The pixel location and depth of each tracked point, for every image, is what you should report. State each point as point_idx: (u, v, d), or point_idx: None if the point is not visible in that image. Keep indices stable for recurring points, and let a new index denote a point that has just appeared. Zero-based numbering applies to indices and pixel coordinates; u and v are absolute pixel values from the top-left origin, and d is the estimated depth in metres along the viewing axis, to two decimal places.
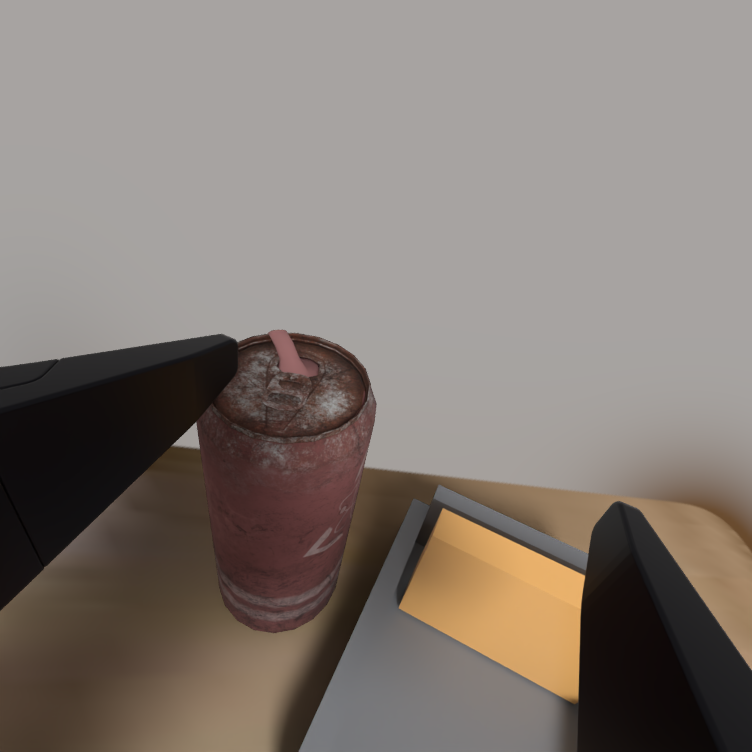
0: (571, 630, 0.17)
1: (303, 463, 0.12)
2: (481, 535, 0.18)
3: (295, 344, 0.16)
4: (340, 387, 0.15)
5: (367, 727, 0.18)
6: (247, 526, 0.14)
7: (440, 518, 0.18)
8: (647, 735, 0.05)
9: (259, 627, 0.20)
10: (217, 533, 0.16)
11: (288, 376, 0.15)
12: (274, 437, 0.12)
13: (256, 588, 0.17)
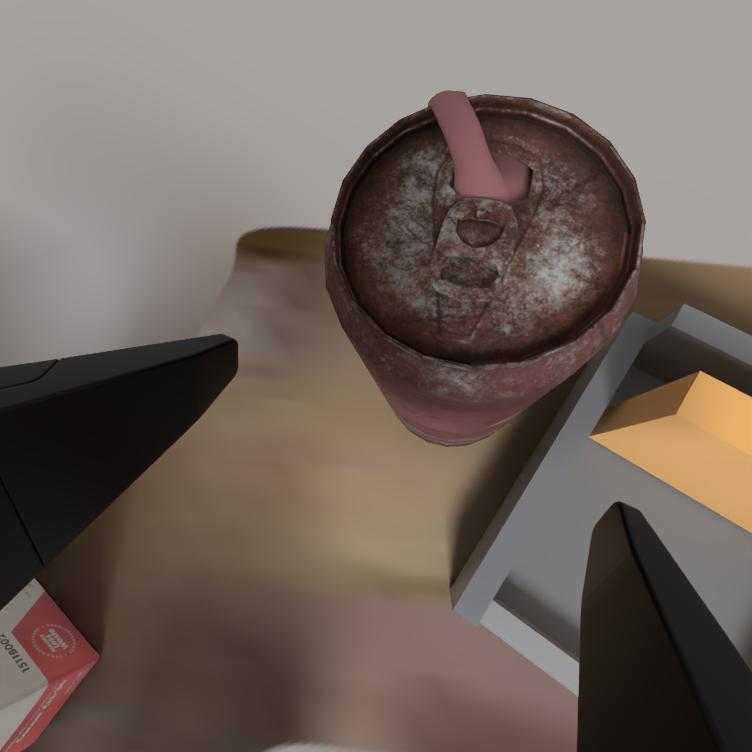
0: None
1: (502, 393, 0.07)
2: None
3: (481, 122, 0.08)
4: (575, 227, 0.08)
5: (542, 542, 0.18)
6: (417, 412, 0.11)
7: (693, 387, 0.12)
8: (647, 735, 0.05)
9: (432, 442, 0.19)
10: (380, 389, 0.14)
11: (471, 207, 0.08)
12: (456, 364, 0.07)
13: (428, 433, 0.16)
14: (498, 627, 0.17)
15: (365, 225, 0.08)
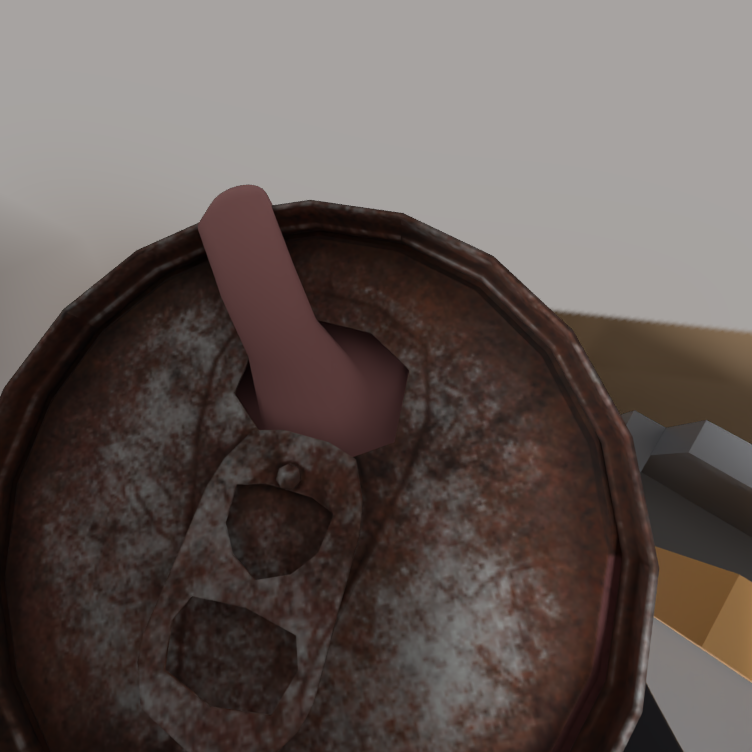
0: None
1: None
2: None
3: (313, 252, 0.04)
4: (492, 528, 0.03)
5: None
6: None
7: (729, 603, 0.08)
8: None
9: None
10: None
11: (274, 453, 0.04)
12: None
13: None
14: None
15: (57, 479, 0.04)
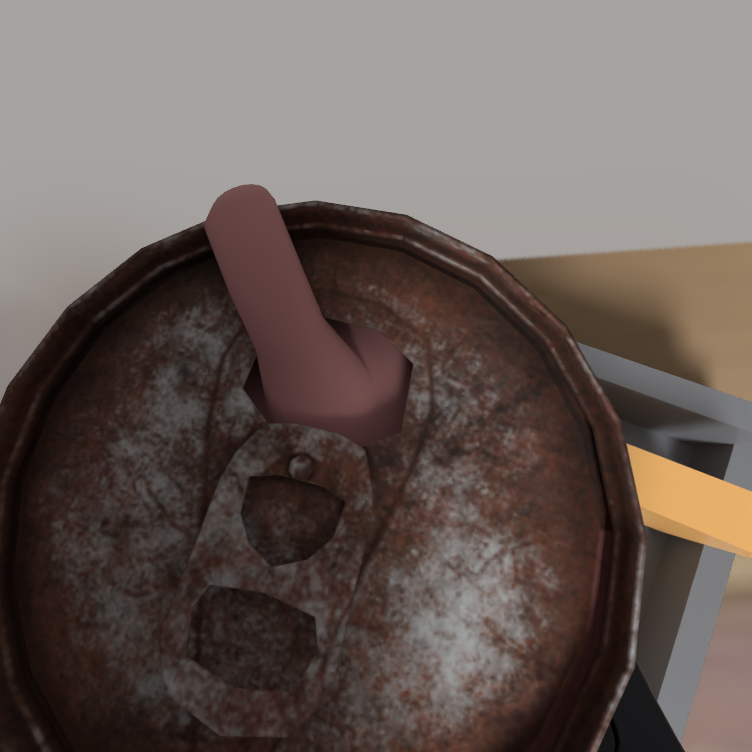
0: (659, 519, 0.13)
1: None
2: None
3: (316, 251, 0.04)
4: (494, 510, 0.03)
5: None
6: None
7: None
8: None
9: None
10: None
11: (284, 445, 0.04)
12: None
13: None
14: None
15: (65, 477, 0.04)
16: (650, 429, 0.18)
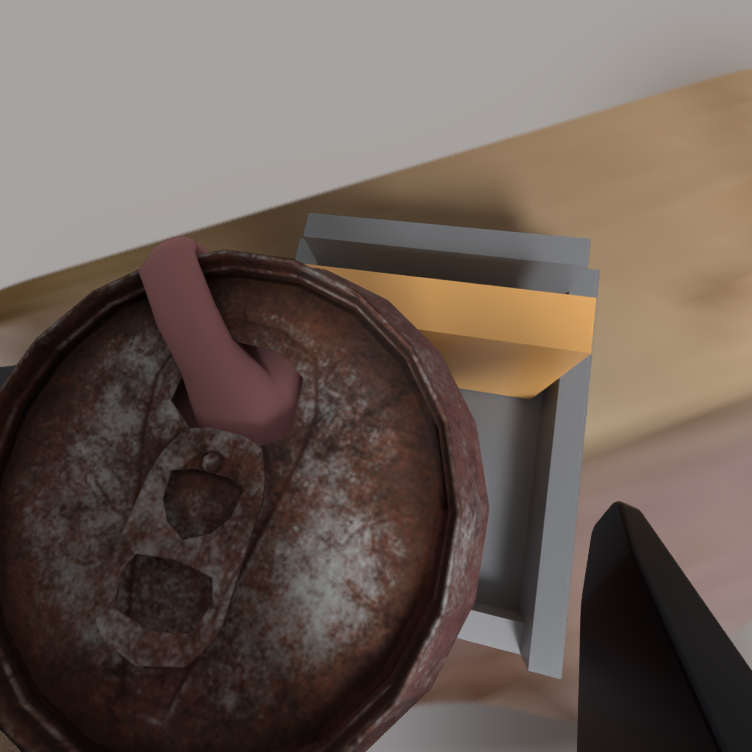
0: (480, 355, 0.13)
1: None
2: None
3: (232, 288, 0.05)
4: (359, 494, 0.04)
5: None
6: None
7: None
8: (647, 735, 0.05)
9: None
10: None
11: (201, 445, 0.05)
12: None
13: None
14: None
15: (33, 472, 0.05)
16: None
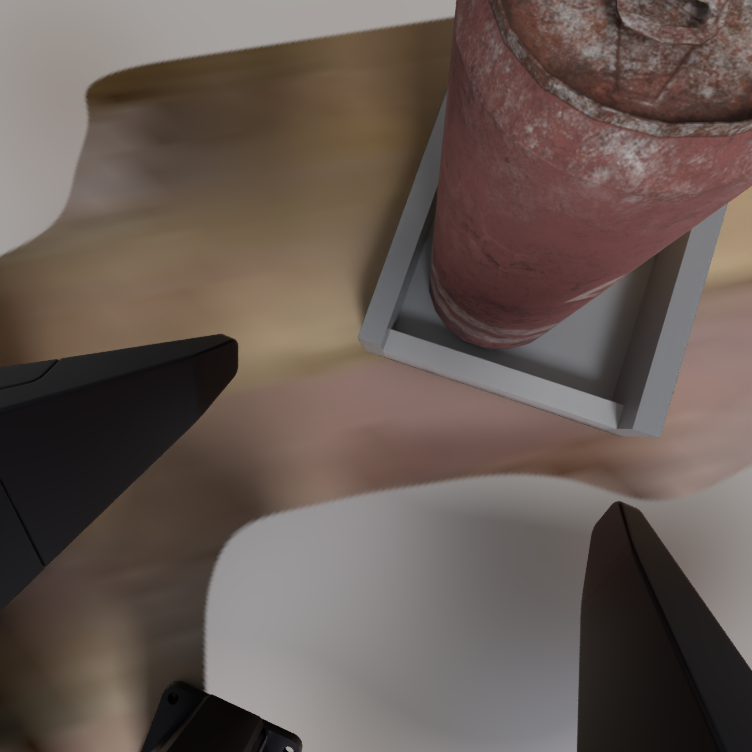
0: None
1: (677, 185, 0.06)
2: None
3: None
4: None
5: None
6: (505, 260, 0.10)
7: None
8: (647, 735, 0.05)
9: (471, 341, 0.18)
10: (448, 250, 0.12)
11: None
12: (645, 120, 0.05)
13: (483, 316, 0.14)
14: (406, 351, 0.18)
15: None
16: None
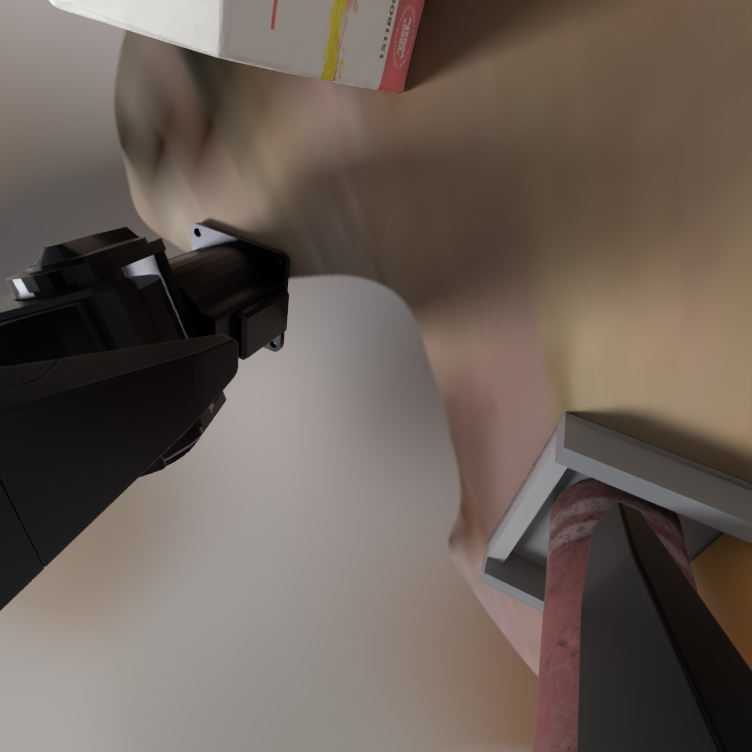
0: None
1: None
2: None
3: None
4: None
5: None
6: (554, 655, 0.16)
7: None
8: (647, 735, 0.05)
9: (558, 501, 0.23)
10: None
11: None
12: None
13: (555, 559, 0.20)
14: (552, 462, 0.22)
15: None
16: None
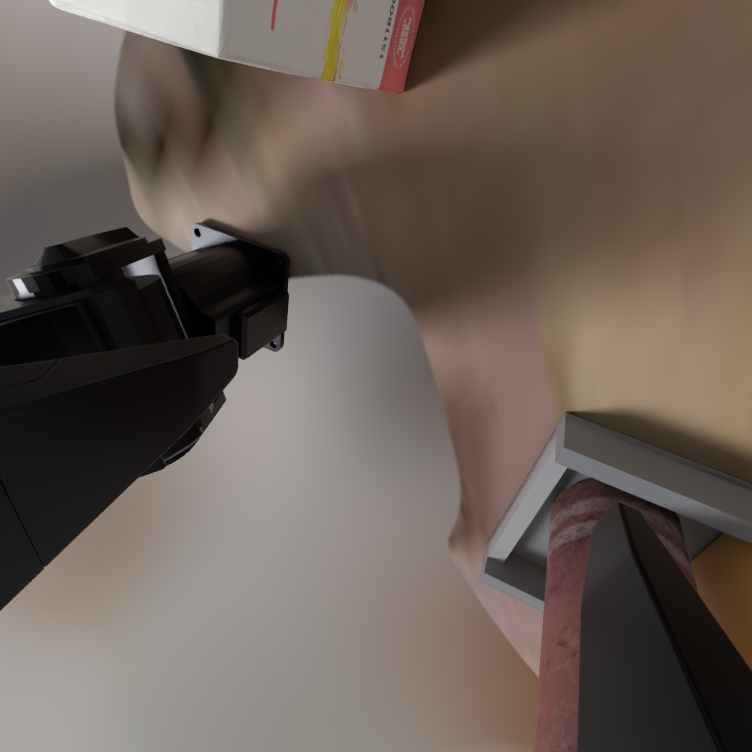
0: None
1: None
2: None
3: None
4: None
5: None
6: (555, 655, 0.16)
7: None
8: (647, 735, 0.05)
9: (558, 501, 0.23)
10: None
11: None
12: None
13: (556, 559, 0.20)
14: (552, 462, 0.22)
15: None
16: None
